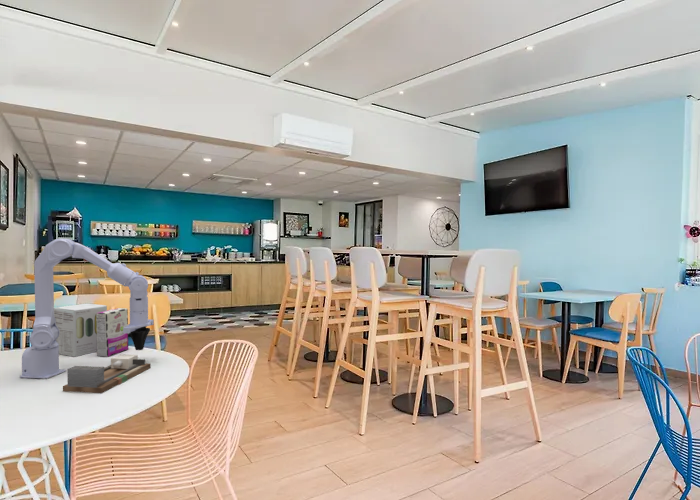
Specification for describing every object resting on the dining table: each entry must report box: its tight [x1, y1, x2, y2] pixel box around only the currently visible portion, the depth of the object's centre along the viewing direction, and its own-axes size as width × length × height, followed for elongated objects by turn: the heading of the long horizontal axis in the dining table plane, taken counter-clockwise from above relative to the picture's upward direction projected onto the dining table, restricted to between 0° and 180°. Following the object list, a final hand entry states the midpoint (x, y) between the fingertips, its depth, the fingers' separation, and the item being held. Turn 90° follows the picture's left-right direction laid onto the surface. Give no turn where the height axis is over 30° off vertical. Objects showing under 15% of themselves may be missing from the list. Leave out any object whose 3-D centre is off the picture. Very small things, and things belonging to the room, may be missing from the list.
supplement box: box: [54, 302, 108, 358], centre depth 165 cm, size 13×13×18 cm
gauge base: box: [62, 362, 152, 394], centre depth 133 cm, size 12×24×2 cm, turn 174°
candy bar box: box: [96, 307, 129, 358], centre depth 163 cm, size 11×5×16 cm, turn 168°
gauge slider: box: [110, 353, 146, 369], centre depth 139 cm, size 10×7×3 cm
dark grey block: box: [66, 365, 105, 388], centre depth 122 cm, size 9×3×5 cm, turn 84°
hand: (139, 349), depth 148 cm, fingers closed
